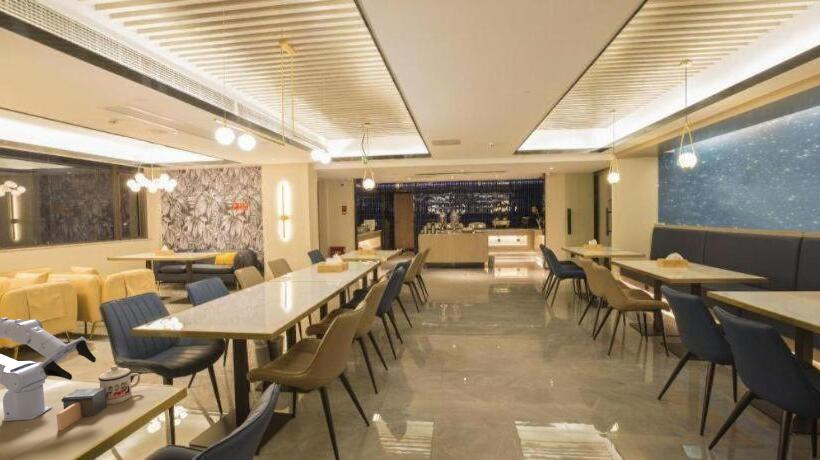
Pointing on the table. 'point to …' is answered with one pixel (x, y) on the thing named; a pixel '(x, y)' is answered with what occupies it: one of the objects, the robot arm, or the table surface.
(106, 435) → the table surface
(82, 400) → the dispenser
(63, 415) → the long wooden plank
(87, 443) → the table surface
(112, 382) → the teacup with lid
